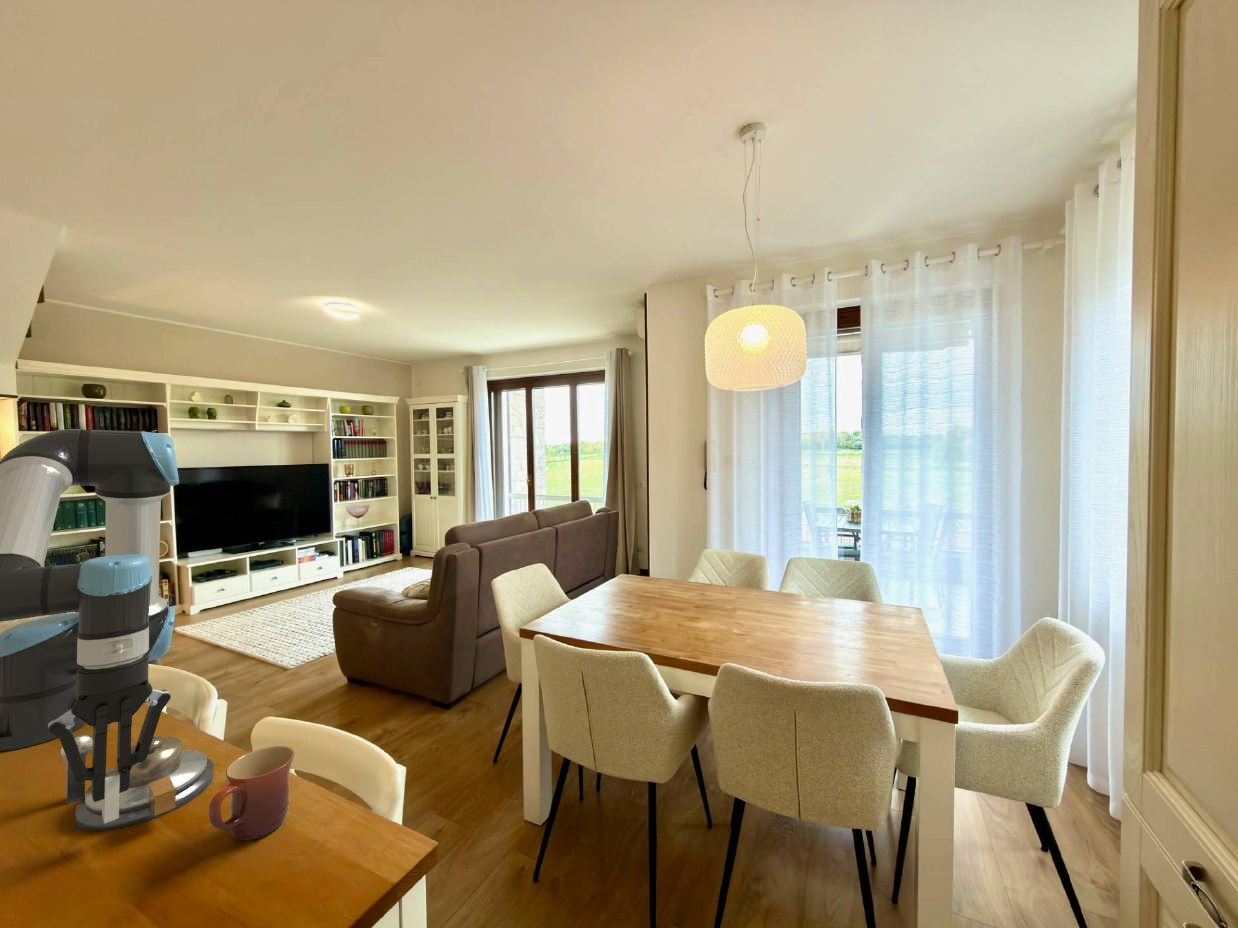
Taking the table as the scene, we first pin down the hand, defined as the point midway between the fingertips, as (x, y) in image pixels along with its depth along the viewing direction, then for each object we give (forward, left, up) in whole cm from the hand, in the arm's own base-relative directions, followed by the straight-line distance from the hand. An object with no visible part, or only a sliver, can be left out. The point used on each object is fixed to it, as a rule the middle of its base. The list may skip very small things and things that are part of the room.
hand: (110, 816), depth 73 cm
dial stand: (-18, -2, -4) cm, 19 cm away
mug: (+14, +14, -4) cm, 20 cm away
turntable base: (-10, +6, -4) cm, 12 cm away
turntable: (-8, +6, -2) cm, 10 cm away
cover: (-11, +6, -1) cm, 12 cm away
